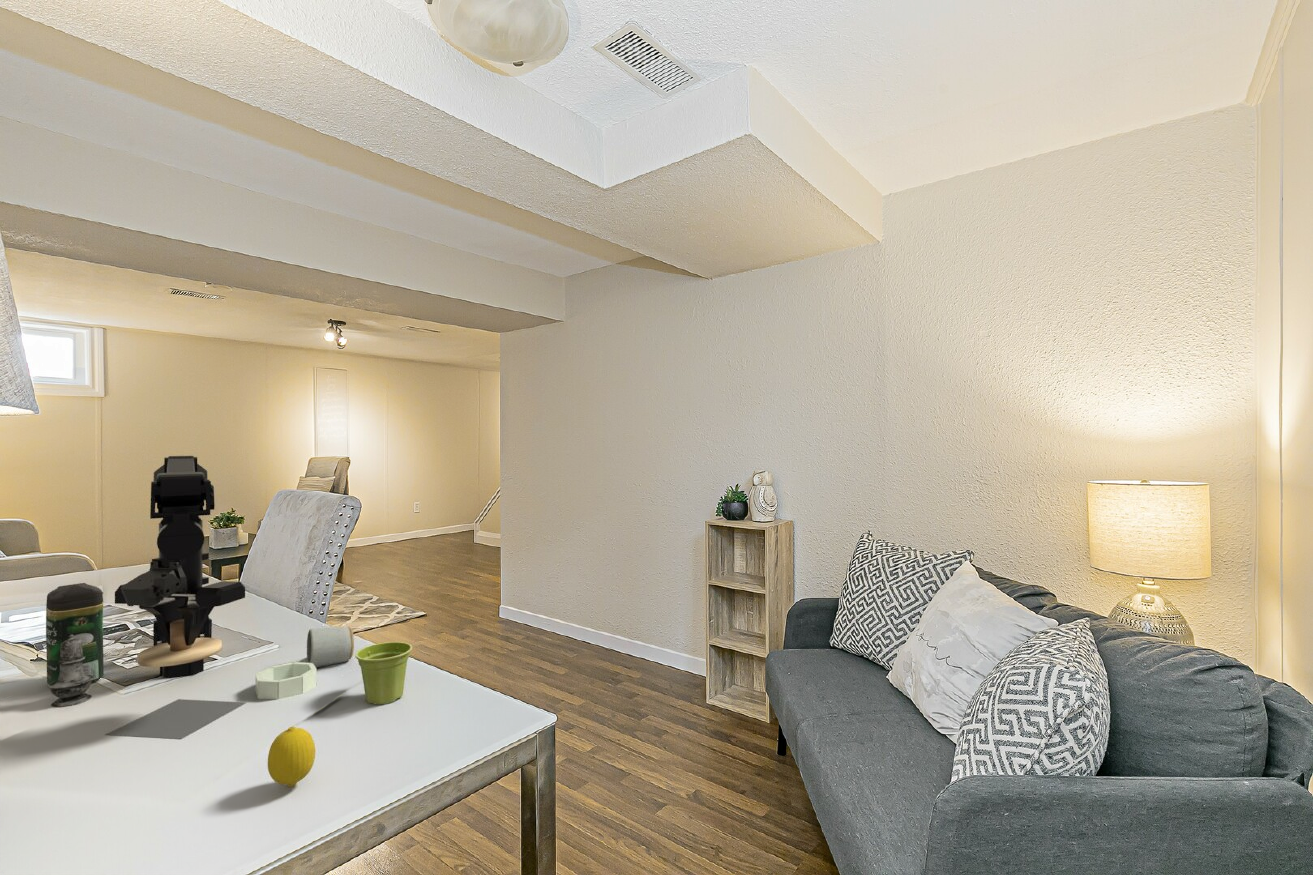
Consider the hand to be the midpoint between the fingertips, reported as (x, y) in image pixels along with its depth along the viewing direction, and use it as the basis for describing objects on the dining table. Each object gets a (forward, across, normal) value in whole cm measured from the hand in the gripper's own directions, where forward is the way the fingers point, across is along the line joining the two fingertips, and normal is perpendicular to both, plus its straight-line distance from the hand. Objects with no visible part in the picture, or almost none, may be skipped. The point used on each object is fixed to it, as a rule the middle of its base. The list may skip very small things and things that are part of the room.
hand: (181, 644), depth 101 cm
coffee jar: (+13, -36, +14) cm, 40 cm away
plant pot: (+13, +28, +13) cm, 33 cm away
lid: (+2, 0, 0) cm, 2 cm away
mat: (+13, 0, 0) cm, 13 cm away
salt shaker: (+13, -27, +6) cm, 31 cm away
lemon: (+13, +31, -15) cm, 37 cm away
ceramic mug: (+13, +6, +29) cm, 32 cm away
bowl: (+13, +9, +13) cm, 20 cm away
